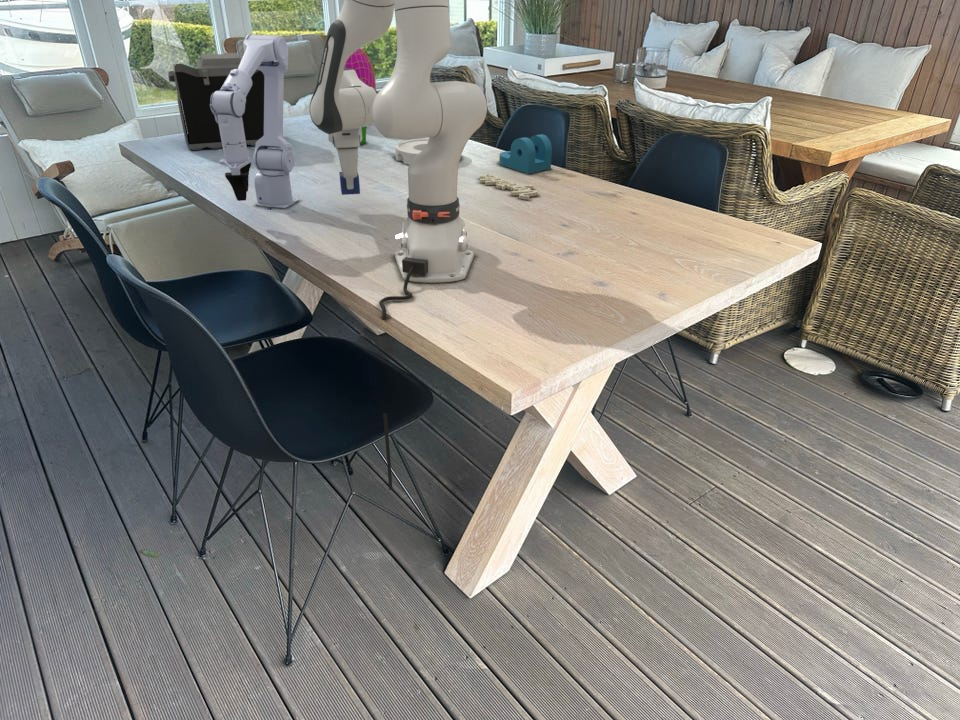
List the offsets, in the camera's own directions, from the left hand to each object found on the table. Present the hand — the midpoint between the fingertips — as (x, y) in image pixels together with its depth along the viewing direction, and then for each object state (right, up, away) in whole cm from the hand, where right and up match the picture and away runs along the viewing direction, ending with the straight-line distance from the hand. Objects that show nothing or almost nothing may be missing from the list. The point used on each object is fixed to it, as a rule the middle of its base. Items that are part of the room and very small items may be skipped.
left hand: (242, 195), depth 178 cm
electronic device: (-32, +41, +84) cm, 99 cm away
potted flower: (+15, +40, +84) cm, 95 cm away
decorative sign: (+71, +11, +36) cm, 80 cm away
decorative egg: (+8, +59, +116) cm, 130 cm away
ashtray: (+43, +29, +66) cm, 84 cm away
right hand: (+26, +6, +11) cm, 29 cm away
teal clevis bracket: (+76, +24, +58) cm, 99 cm away
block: (+26, +4, +12) cm, 29 cm away
